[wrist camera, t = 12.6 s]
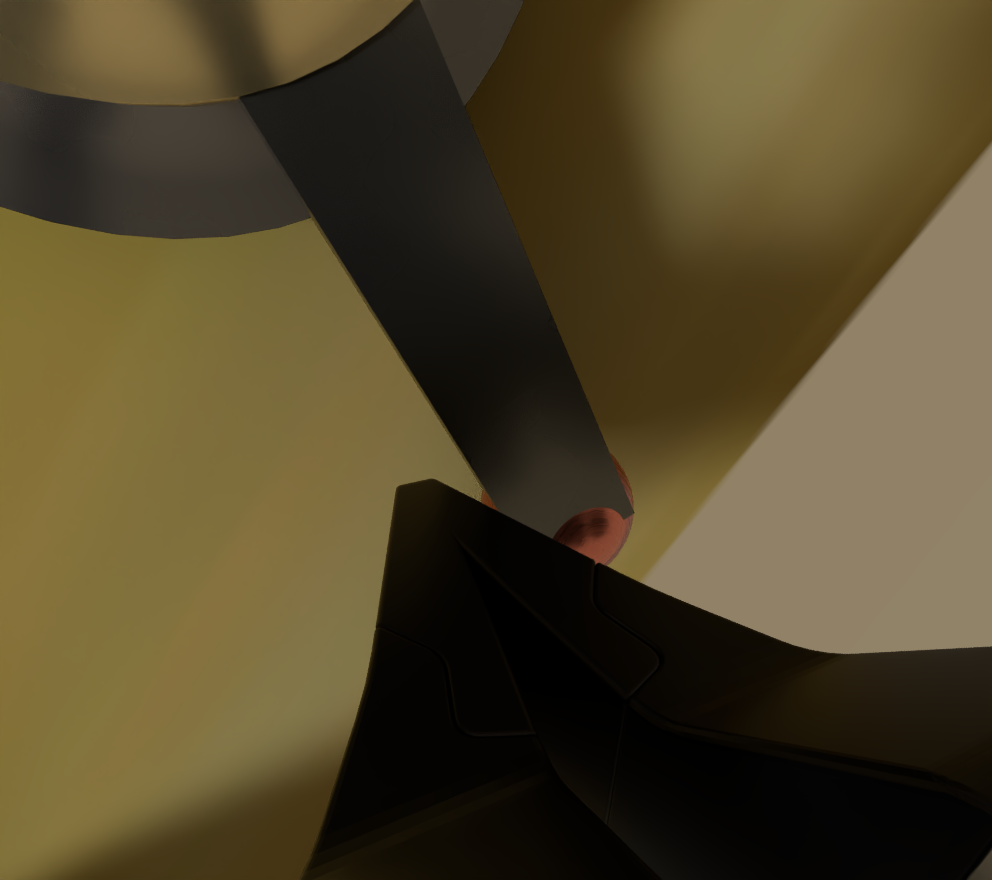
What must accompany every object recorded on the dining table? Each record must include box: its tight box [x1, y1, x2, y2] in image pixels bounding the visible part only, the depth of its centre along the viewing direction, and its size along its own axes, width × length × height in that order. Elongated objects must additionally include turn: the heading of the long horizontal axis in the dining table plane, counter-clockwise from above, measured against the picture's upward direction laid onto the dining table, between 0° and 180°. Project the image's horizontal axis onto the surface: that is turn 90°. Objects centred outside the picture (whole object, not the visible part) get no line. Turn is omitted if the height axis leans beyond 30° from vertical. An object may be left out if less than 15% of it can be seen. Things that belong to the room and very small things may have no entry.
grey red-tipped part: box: [0, 0, 634, 566], centre depth 6 cm, size 15×7×3 cm, turn 25°
